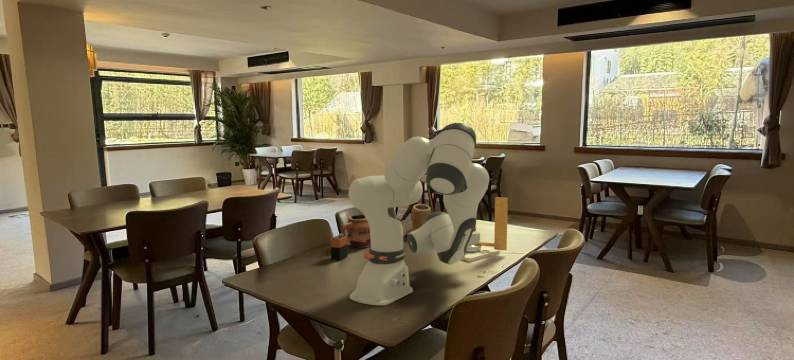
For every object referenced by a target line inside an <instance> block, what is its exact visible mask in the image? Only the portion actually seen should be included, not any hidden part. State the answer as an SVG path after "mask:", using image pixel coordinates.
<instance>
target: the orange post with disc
mask: <svg viewBox="0 0 794 360" xmlns="http://www.w3.org/2000/svg"><path fill="white" fill-rule="evenodd" d="M508 201H509V198H508V197H499V196H497V197H495V198H494V235H493V236H494V239H493V241H494V242H484V241H483V242H482V241H480V242H479V243H477V244H474V245H471V246H467V251H466V252H479V251H481V246H486V247H491V248H493V249H494V250H500V251H507V250H508V249H507V248H508V246H507V245H508V210H509V209H508V207H509V202H508Z"/></svg>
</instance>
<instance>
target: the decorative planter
mask: <svg viewBox="0 0 794 360" xmlns="http://www.w3.org/2000/svg"><path fill="white" fill-rule="evenodd" d="M345 231H346V233H345ZM341 234H343V235H344V236H347V241H349V243H350V246H351V247H353V248H358V249H360V248H361V249H362V248H367V247H368V248H369V247H371V239H370V228H369V224H368V221H367V219H366V217H365V216H364V214H357V215H352V216H351V215H350V216H349V217H348V220H347V222H346V223H345V224H343V225H342V227H341ZM346 234H347V235H346Z"/></svg>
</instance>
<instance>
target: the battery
mask: <svg viewBox="0 0 794 360" xmlns="http://www.w3.org/2000/svg"><path fill="white" fill-rule="evenodd" d="M347 236H348V235H346V236H344V235H343V234H342V233H338V235H334V237H331V238H330V258H331V261H337V262H340V261H342V260H344V259H346V258H348V256H349V255H348V254H349V253H348V239H347Z"/></svg>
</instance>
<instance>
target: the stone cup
mask: <svg viewBox="0 0 794 360" xmlns="http://www.w3.org/2000/svg"><path fill="white" fill-rule="evenodd" d="M410 211H411V212H410V219H411V224H412V227H411V228H409V229H407V230H406V231H405V234H406V235H408V234H409V233H410V232H412V231H415V230H417V229H419V228H420V227H421V225H422V223H423V221H424V219H425V218H426V217H427V216H428V215H429V214H432V210H431V207H430V206H428V205H427V204H425V203H423V204H422V203H418V204H414V205H413V206H412V208H411V210H410Z"/></svg>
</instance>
